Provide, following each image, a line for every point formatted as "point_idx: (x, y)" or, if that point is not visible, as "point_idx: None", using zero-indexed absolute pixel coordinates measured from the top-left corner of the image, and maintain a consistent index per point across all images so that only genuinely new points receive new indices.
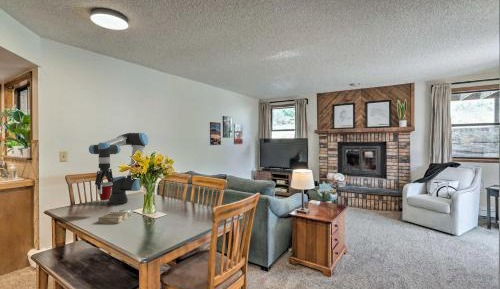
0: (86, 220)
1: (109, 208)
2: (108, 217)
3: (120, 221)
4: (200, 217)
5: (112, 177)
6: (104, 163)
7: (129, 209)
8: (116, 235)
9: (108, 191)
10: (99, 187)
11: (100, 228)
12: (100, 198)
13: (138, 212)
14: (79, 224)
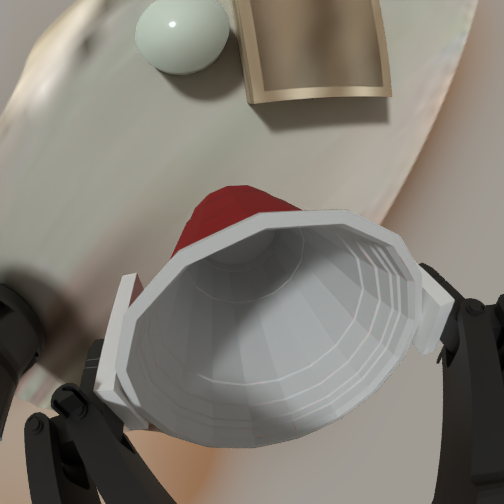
0: (331, 206)
1: (80, 290)
2: (379, 34)
3: None
4: None
5: (40, 480)
6: None
7: (140, 24)
8: None
9: (272, 201)
10: (440, 281)
11: (426, 40)
12: (282, 249)
13: (88, 20)
14: (392, 185)
